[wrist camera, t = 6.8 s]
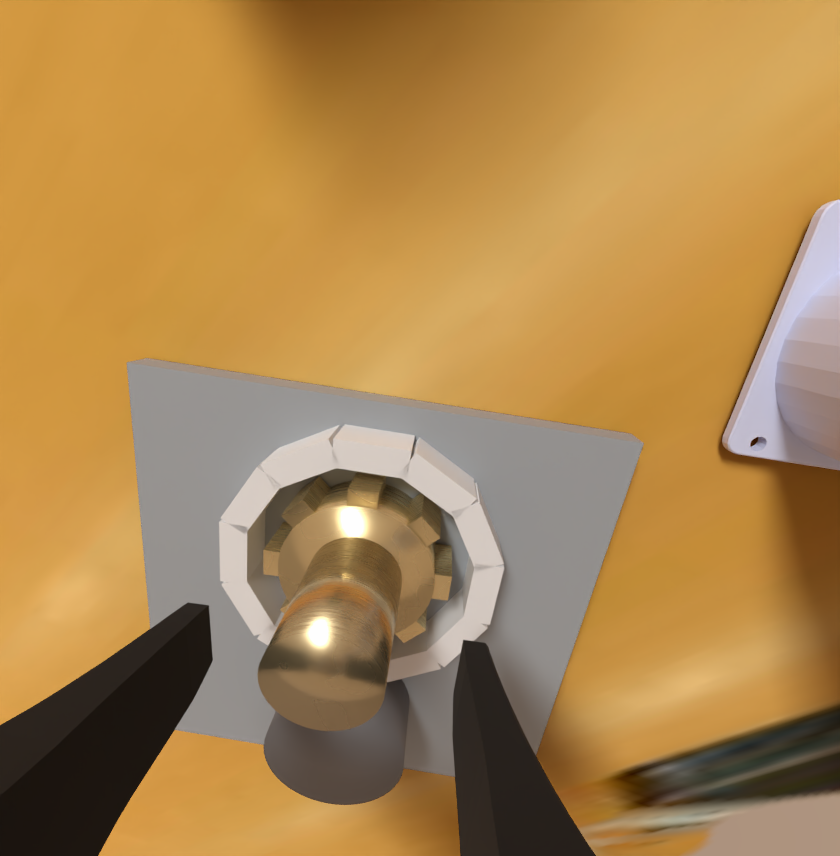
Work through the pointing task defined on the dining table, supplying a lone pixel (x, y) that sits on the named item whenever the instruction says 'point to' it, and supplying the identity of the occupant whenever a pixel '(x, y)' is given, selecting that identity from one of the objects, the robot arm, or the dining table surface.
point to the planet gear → (348, 596)
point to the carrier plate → (460, 527)
